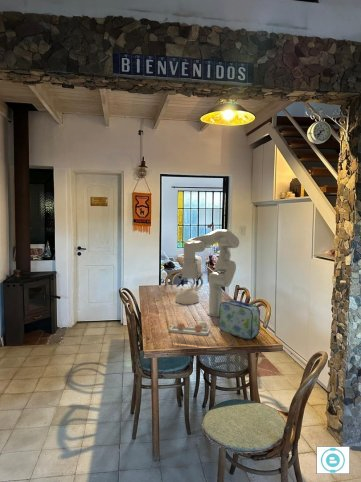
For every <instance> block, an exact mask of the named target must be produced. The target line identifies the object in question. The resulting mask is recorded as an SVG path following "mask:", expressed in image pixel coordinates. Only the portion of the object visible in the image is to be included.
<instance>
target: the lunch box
mask: <svg viewBox="0 0 361 482" xmlns="http://www.w3.org/2000/svg"><path fill="white" fill-rule="evenodd" d="M260 318H261V309H260V308H259V306H256V305H254V304H252V303H251V304H250V303H247V302H243V301H241V300H236V299H231V298H230V299H228V300H224V301H222V303H221V304H220V308H219V317H218V327H219V330H220V331H222V332H225V333H228V334H230V335H232V336H234V337H238V338H241V339H244V340H252V339H254V338H257V337H258V335H259V333H260V330H261V321H260V320H261V319H260Z"/></svg>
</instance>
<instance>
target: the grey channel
mask: <svg viewBox="0 0 361 482" xmlns="http://www.w3.org/2000/svg"><path fill="white" fill-rule="evenodd" d="M194 327H195V326H194ZM194 327H193V326H191V327H190V326H185V329H184V330H178V329H177V325H172V326H171V327H170V329H168V330H169V333H178V334H189V335H198V336H199V335H200V336H206V337H207V336H209V333H210V330H211V329H210V328H202V331H201V332H196V331H195V329H194Z"/></svg>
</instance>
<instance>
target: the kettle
mask: <svg viewBox="0 0 361 482" xmlns="http://www.w3.org/2000/svg"><path fill="white" fill-rule="evenodd" d="M185 283H190V285H191V287H183V288H180V290H178V291H177V292H176V294H175V298H174V299H175V300H174V301H175V303H178V304H180V303H181V304H180V305H194V303H195V304H197V302H198V303H199V300H200V299H199V295H198V292H197V290H198V289H199V287H198V286H197V287H196V285H195V286H194V283H193V281H191V280H184V284H185ZM180 286H182V285H181V282H179V283H178V284H177V285H176V287H180Z"/></svg>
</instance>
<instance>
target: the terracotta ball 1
mask: <svg viewBox="0 0 361 482" xmlns="http://www.w3.org/2000/svg"><path fill="white" fill-rule="evenodd" d="M176 326H177V329H178V330H184V329H185V327H186V325H185V323H184V322H178V324H177V325H176Z"/></svg>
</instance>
